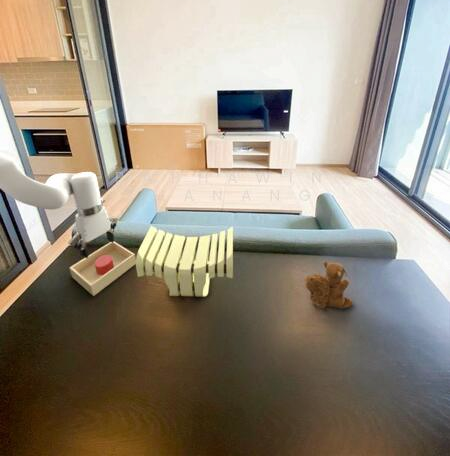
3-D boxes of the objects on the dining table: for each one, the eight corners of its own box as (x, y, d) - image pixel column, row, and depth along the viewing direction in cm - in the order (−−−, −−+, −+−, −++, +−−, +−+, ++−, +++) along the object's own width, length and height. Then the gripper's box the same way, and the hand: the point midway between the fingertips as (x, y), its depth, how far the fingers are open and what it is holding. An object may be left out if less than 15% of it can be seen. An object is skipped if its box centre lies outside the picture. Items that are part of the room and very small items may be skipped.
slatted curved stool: (142, 300, 81) (134, 258, 74) (156, 263, 96) (151, 225, 89) (232, 302, 80) (232, 259, 73) (232, 264, 94) (232, 226, 88)
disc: (93, 270, 92) (91, 262, 91) (108, 260, 97) (106, 252, 95) (102, 277, 89) (100, 269, 88) (117, 267, 94) (115, 258, 92)
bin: (72, 277, 90) (69, 267, 88) (114, 249, 104) (112, 240, 102) (93, 296, 83) (90, 286, 81) (136, 263, 96) (134, 254, 94)
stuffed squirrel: (354, 305, 78) (362, 273, 74) (318, 320, 74) (324, 287, 69) (332, 280, 87) (337, 251, 82) (298, 293, 82) (302, 262, 78)
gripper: (107, 194, 92) (114, 232, 98) (57, 216, 79) (68, 258, 84) (119, 200, 88) (125, 239, 94) (68, 224, 75) (79, 267, 80)
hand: (98, 248), depth 89 cm, fingers open, 9 cm apart
